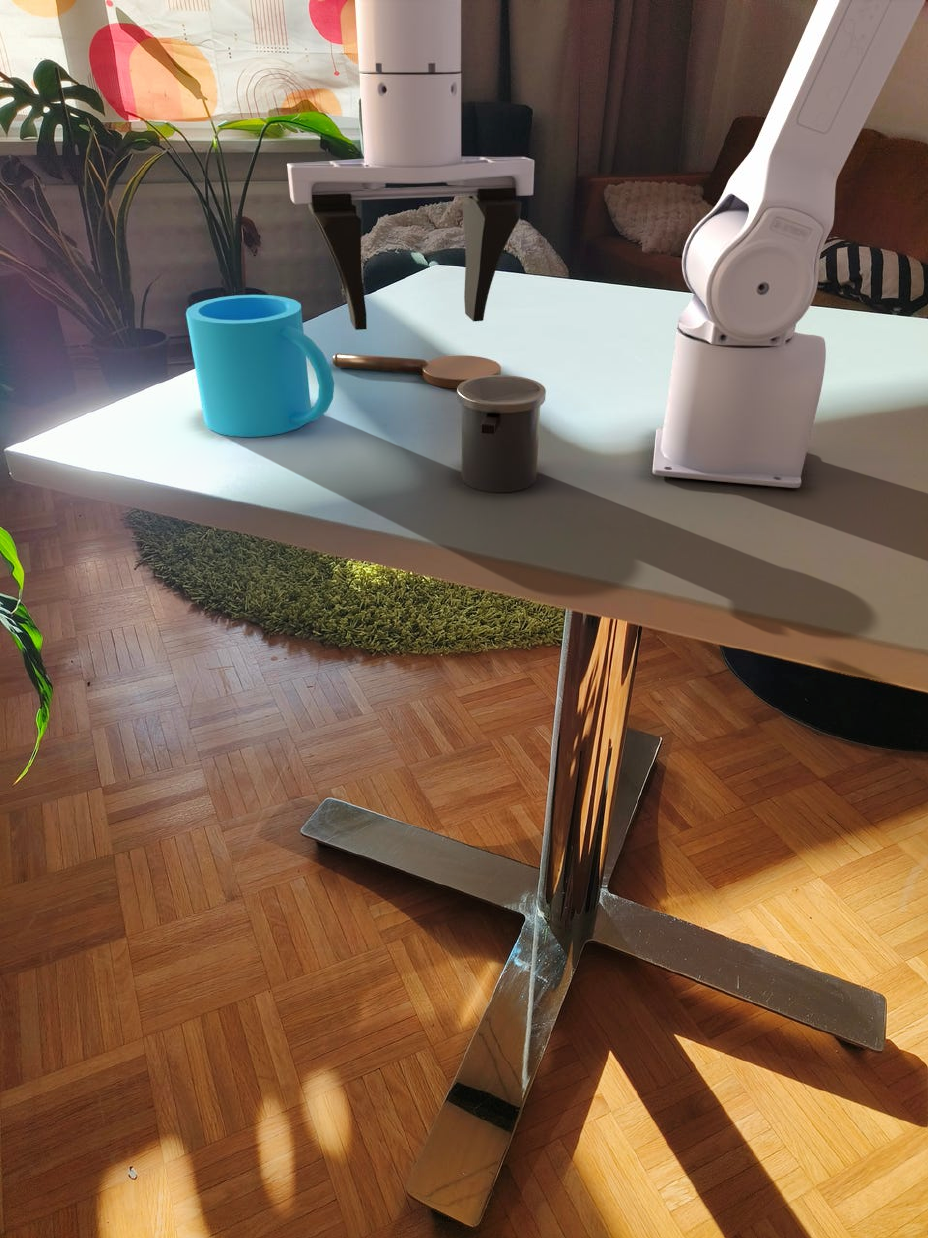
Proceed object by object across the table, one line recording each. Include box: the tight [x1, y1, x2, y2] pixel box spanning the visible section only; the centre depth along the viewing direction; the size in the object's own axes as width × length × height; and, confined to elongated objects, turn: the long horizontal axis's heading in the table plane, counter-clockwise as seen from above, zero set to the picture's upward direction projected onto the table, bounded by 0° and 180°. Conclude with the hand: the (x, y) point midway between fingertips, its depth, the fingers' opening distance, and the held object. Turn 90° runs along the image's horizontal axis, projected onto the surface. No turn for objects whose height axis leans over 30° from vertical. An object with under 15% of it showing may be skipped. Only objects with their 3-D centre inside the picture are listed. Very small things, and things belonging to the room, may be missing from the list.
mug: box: [185, 294, 335, 438], centre depth 63 cm, size 12×8×8 cm
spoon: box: [332, 352, 502, 390], centre depth 75 cm, size 15×7×1 cm, turn 78°
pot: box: [456, 374, 547, 493], centre depth 55 cm, size 6×7×6 cm
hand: (417, 321), depth 56 cm, fingers open, 7 cm apart
